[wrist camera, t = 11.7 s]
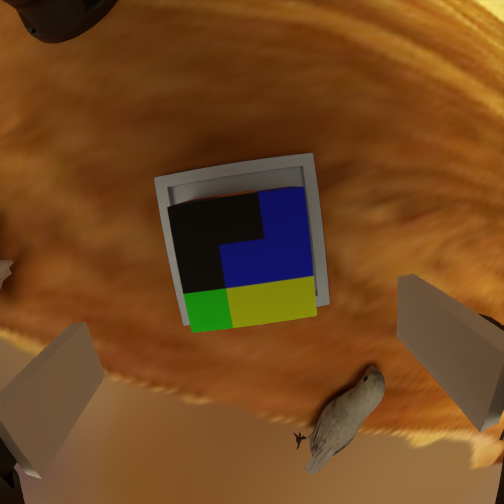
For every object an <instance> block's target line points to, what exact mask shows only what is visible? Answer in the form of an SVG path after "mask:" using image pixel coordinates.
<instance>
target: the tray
mask: <svg viewBox="0 0 504 504" xmlns="http://www.w3.org/2000/svg"><path fill="white" fill-rule="evenodd" d="M154 181H155V187H156V193H157V199H158V205H159V211H160V217H161V222H162V228H163V233H164V238H165V243H166V248H167V253H168V258H169V263H170V268H171V273H172V277H173V282H174V286H175V291H176V295H177V299H178V304H179V308H180V312H181V316H182V320H183V324H184V326H185V325H190V322H189V318H188V313H187V309H186V304H185V300H184V295H183V290H182V286H181V281H180V276H179V271H178V266H177V261H176V256H175V250H174V245H173V239H172V234H171V228H170V222H169V217H168V211H167V207H169V206H172V205H175V204H178V203H182V202H185V201H188V200H193V199H199V198H205V197H211V196H218V195H224V194H231V193H238V192H245V191H252V190H259V189H266V188H274V187H282V186H296V187H304V190H305V198H306V206H307V215H308V224H309V233H310V242H311V252H312V262H313V273H314V284H315V297H316V307H317V306H323V305H328V304H330V303H329V290H328V277H327V266H326V255H325V245H324V235H323V226H322V217H321V209H320V201H319V193H318V185H317V178H316V171H315V164H314V157H313V153H306V154H297V155H289V156H280V157H273V158H265V159H258V160H251V161H244V162H237V163H231V164H225V165H219V166H213V167H207V168H201V169H196V170H190V171H185V172H180V173H175V174H170V175H165V176H160V177H155V178H154Z"/></svg>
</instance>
